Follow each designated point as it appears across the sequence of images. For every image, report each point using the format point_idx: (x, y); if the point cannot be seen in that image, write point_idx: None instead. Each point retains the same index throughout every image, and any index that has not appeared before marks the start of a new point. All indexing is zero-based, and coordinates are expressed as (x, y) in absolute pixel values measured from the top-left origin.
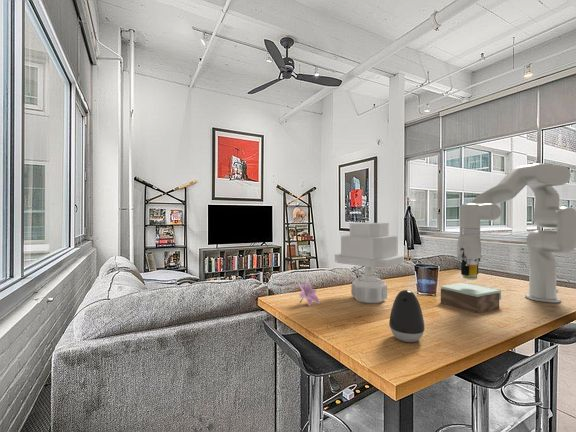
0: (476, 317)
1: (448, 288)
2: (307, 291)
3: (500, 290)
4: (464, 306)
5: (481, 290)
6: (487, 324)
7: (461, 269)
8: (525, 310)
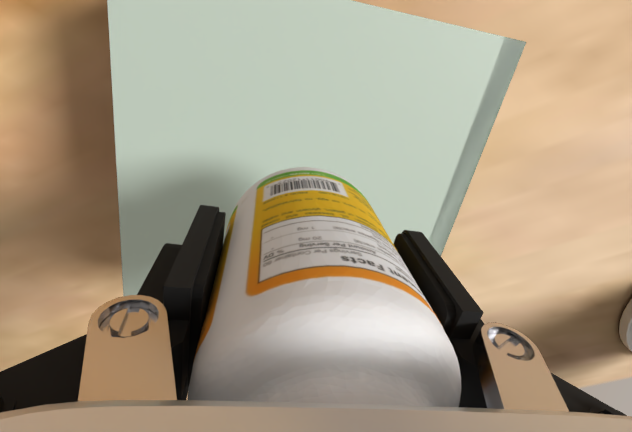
0: (86, 268)
1: (112, 61)
2: None
3: None
4: None
5: None
6: (39, 329)
7: (185, 243)
8: None
